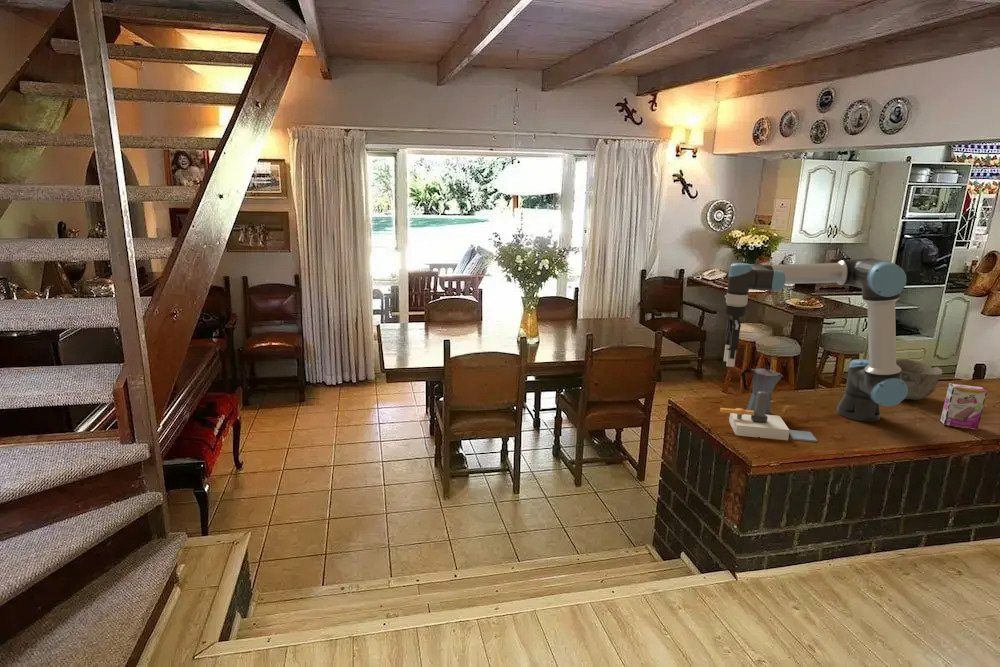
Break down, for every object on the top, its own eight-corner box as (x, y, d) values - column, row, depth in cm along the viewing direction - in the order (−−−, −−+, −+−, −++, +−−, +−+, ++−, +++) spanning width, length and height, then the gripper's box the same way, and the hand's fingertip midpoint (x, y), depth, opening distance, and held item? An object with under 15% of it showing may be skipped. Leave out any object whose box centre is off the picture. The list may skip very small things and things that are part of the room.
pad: (810, 433, 221) (810, 431, 221) (816, 442, 213) (817, 440, 213) (787, 431, 222) (787, 429, 222) (793, 439, 215) (793, 438, 215)
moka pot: (780, 418, 235) (787, 370, 230) (739, 414, 238) (745, 367, 233) (774, 409, 244) (781, 363, 239) (735, 406, 247) (740, 360, 242)
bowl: (937, 410, 247) (944, 376, 243) (875, 400, 258) (882, 367, 255) (934, 396, 265) (941, 364, 261) (877, 386, 276) (882, 355, 272)
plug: (763, 428, 225) (768, 390, 221) (767, 434, 219) (772, 395, 216) (748, 426, 226) (753, 389, 222) (751, 432, 220) (756, 394, 217)
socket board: (778, 425, 228) (780, 411, 226) (788, 440, 214) (790, 425, 213) (729, 421, 231) (730, 406, 230) (735, 435, 218) (737, 420, 216)
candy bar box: (944, 426, 230) (952, 386, 226) (939, 422, 235) (948, 382, 231) (978, 431, 227) (988, 390, 223) (973, 426, 231) (982, 386, 227)
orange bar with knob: (752, 412, 223) (752, 409, 223) (754, 415, 220) (754, 412, 220) (719, 409, 225) (720, 406, 225) (721, 412, 222) (721, 409, 222)
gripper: (721, 299, 231) (714, 356, 237) (729, 309, 213) (722, 370, 218) (741, 300, 230) (734, 357, 235) (751, 310, 211) (743, 371, 217)
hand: (728, 363), depth 227 cm, fingers open, 6 cm apart
